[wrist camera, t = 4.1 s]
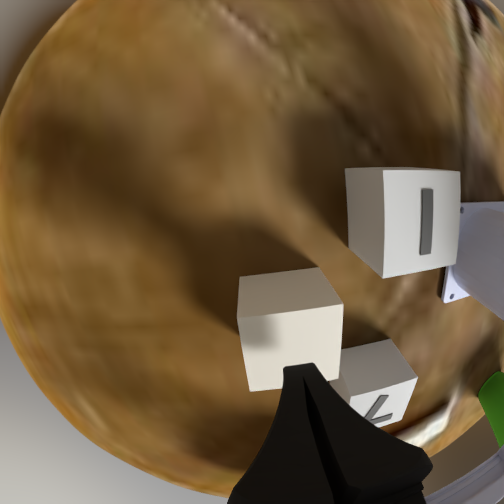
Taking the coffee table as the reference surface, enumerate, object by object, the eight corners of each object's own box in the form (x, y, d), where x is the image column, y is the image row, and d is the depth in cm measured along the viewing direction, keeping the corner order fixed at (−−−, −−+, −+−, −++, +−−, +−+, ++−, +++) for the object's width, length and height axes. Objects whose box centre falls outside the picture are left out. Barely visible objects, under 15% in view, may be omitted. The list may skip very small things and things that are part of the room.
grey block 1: (411, 167, 15) (461, 171, 10) (411, 239, 16) (456, 264, 12) (344, 168, 15) (383, 170, 10) (348, 248, 16) (383, 279, 12)
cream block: (318, 266, 17) (343, 303, 12) (319, 331, 18) (338, 378, 14) (239, 276, 17) (236, 318, 12) (249, 340, 18) (250, 391, 14)
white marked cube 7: (390, 338, 19) (418, 378, 14) (380, 381, 20) (401, 420, 15) (332, 350, 19) (351, 397, 14) (328, 393, 20) (342, 437, 16)
